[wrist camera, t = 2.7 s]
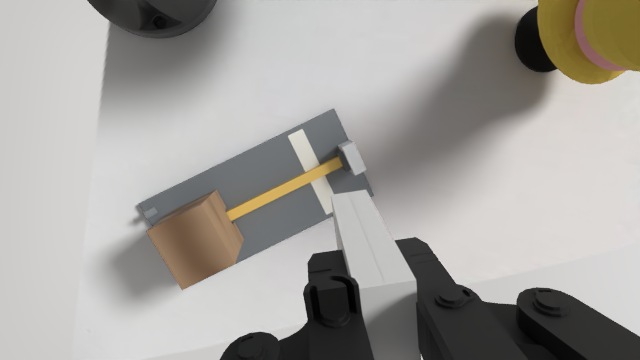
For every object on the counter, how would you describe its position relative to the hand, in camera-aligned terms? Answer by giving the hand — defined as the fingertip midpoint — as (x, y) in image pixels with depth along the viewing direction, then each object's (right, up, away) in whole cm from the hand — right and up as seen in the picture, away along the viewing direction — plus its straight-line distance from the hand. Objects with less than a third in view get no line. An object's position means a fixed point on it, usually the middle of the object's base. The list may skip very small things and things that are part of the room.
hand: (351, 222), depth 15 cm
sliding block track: (-9, -1, +29) cm, 31 cm away
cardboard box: (-15, -4, +28) cm, 32 cm away
